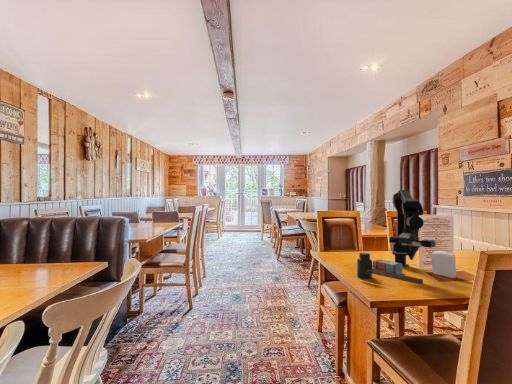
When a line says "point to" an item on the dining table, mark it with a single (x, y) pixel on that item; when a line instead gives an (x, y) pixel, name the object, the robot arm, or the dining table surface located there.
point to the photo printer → (444, 264)
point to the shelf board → (394, 274)
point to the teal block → (390, 266)
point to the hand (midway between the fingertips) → (411, 259)
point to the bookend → (398, 268)
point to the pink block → (382, 265)
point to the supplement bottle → (364, 266)
